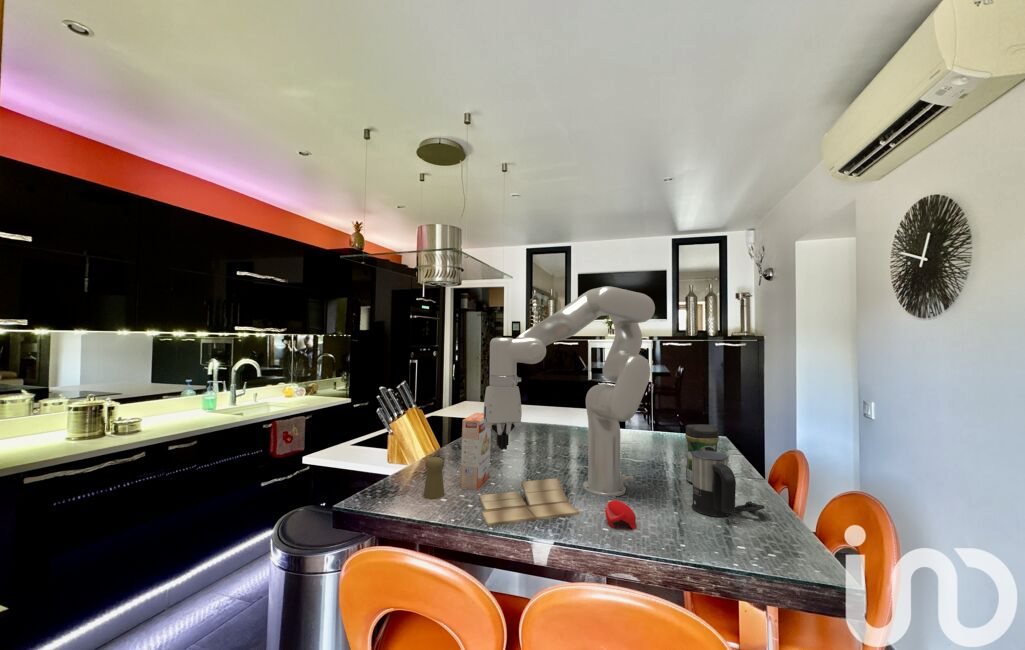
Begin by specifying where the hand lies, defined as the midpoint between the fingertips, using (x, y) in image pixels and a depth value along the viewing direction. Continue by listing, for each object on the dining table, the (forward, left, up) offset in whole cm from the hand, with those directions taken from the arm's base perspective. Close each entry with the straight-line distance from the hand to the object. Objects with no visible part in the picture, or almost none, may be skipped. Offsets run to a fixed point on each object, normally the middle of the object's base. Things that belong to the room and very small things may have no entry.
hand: (502, 448), depth 111 cm
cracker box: (+3, -17, -15) cm, 23 cm away
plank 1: (0, +2, -15) cm, 15 cm away
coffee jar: (-67, +2, -15) cm, 68 cm away
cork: (+17, -9, -15) cm, 25 cm away
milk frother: (-56, +22, -15) cm, 62 cm away
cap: (-24, +22, -15) cm, 36 cm away
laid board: (-5, +10, -15) cm, 19 cm away
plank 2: (-12, +2, -13) cm, 17 cm away
